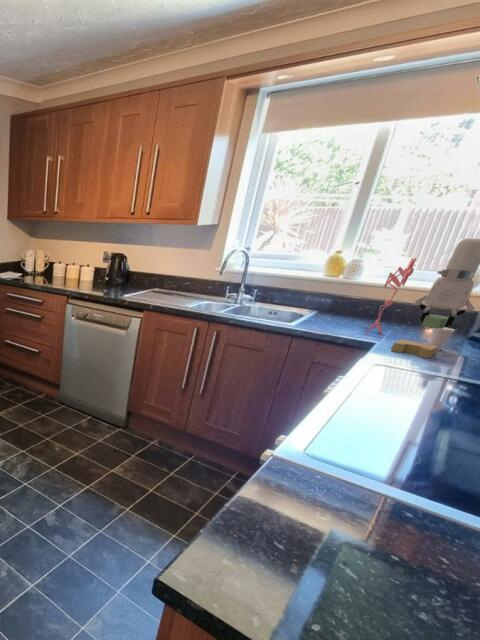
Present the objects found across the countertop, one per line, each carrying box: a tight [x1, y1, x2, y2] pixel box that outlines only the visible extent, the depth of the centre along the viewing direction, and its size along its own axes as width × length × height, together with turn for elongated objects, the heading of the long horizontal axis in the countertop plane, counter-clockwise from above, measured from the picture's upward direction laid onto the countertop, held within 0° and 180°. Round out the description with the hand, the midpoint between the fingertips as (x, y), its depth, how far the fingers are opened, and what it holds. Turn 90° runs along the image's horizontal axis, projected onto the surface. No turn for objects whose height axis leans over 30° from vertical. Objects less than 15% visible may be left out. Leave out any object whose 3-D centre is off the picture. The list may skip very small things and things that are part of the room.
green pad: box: [421, 313, 449, 329], centre depth 156 cm, size 6×10×4 cm, turn 126°
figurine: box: [362, 257, 417, 340], centre depth 192 cm, size 15×26×35 cm, turn 136°
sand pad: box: [390, 338, 438, 359], centre depth 170 cm, size 11×11×4 cm
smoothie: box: [428, 327, 456, 351], centre depth 172 cm, size 6×6×14 cm
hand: (434, 324), depth 157 cm, fingers closed on green pad, 5 cm apart
